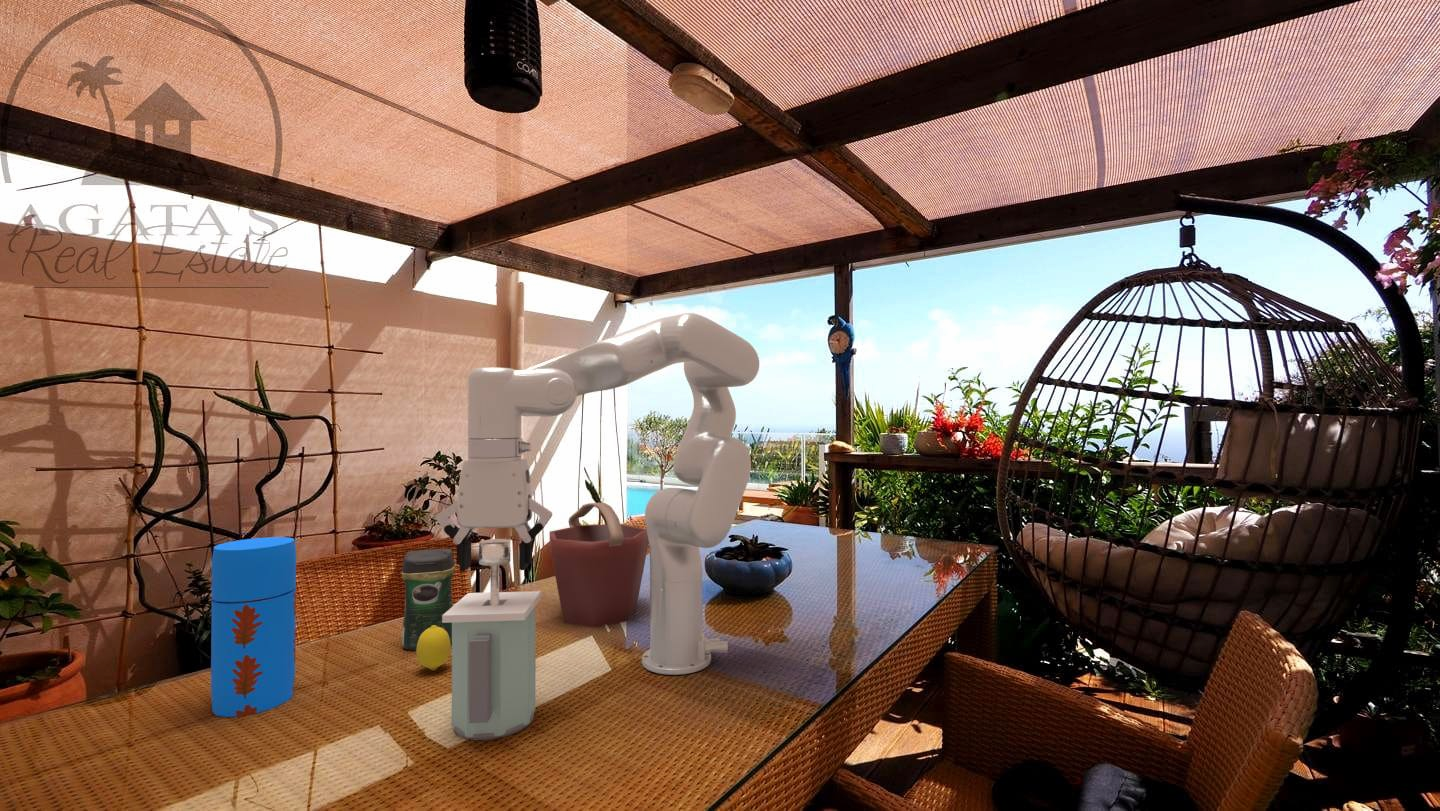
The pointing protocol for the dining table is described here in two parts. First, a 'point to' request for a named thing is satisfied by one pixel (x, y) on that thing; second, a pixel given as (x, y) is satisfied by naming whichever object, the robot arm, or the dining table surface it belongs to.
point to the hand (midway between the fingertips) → (494, 568)
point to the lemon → (433, 647)
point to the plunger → (494, 562)
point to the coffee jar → (426, 592)
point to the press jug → (493, 664)
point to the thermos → (253, 625)
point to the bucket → (598, 568)
